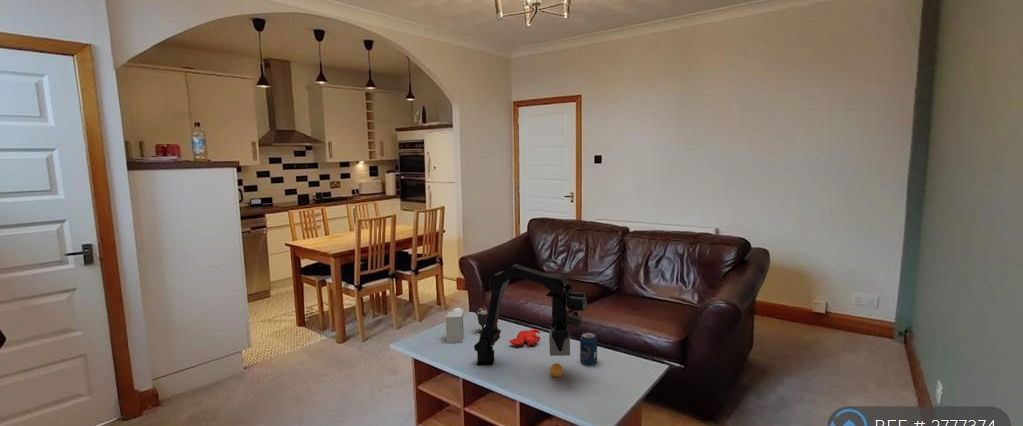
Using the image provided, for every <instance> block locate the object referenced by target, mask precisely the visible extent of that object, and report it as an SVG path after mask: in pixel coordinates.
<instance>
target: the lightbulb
mask: <svg viewBox="0 0 1023 426" xmlns="http://www.w3.org/2000/svg"><path fill="white" fill-rule="evenodd" d="M464 311H465V310H463V308H462V307H455V308H453V309H452V311H451V312H463V318H464V317H465V312H464Z"/></svg>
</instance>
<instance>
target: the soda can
mask: <svg viewBox="0 0 1023 426" xmlns="http://www.w3.org/2000/svg"><path fill="white" fill-rule="evenodd" d="M596 336H597V335H596V334H595V333H593V332H582V334H581V336H580V339H579V353H580V354H579V359H580V362H581V364H582V365H583V366H589V367H592V366H595V365H596V363H597V362H598V338H597V337H596Z"/></svg>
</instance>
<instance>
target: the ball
mask: <svg viewBox="0 0 1023 426" xmlns="http://www.w3.org/2000/svg"><path fill="white" fill-rule="evenodd" d="M549 372H550V374H551V375H552V377H556V378H558V377H561V376H562V375H563V373H564V369H563V366H562V365H561V364H560V363H557V362H556V363H553V364H552V365H551V366H550V369H549Z"/></svg>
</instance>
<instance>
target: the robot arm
mask: <svg viewBox="0 0 1023 426" xmlns="http://www.w3.org/2000/svg"><path fill="white" fill-rule="evenodd" d="M513 277H517V278H521V279H524V280H526V281H530V282H534V283H536V284H539V285H542V286H544V287H545V288H546V289H547V290H549V292H548V293H547V294H546V295H545V296H546V297H551V316H550V318H551V327H552V329H551V330H552V338H553V339H554V341H555V344H556V346H557V348H558V350H559V351H562V348H563V343H564V340H565V339H566V338H569V336H570V331H568V329H569V328H568V326H573V327H575V328H578V329H579V328H581V324H582V321H583V318H582V317H581V315H579V312H578V311H580V312H586V309H587V306H588V299H587V296H586V293H585V292H581V291H580V292H576V291H574V288H573V287H572V286H571V284H570V283H569V280H568V277H567V276H566V275H565V274H561V273H546V272H543V271H540V270H536V269H534V268H533V269H532V268H530V267H527V266H526V267H525V266H523V265H521V264H513V265H511V266H510V267H509V268H507V269H506V270H505V271H499V272H496V273H495V274H493V275H492V276H491V277H490V278H489V289H490V294H491V295H490V300H489V303H488V304H489V305H488V309H487V311H488V315H487V321H486V325H484V329H483V331H482V333H481V334H479V335H480V336H479V339H478V342H476V343H475V345H474V346H473V348H474V350H475V352H476V353H477V354H476V357H477V361H476V365H477V366H492V365H493V364H494V362H495V350H494V346H495V344H496V342H498V341H499V339H500V338H501V336H500V335H501V332H502V329H499V327H498V322H499V315H500V311H501V305H502V301H503V295H504V293H505V291H506V289H507V287H508V285H509V282H510V279H512V278H513ZM568 309H569V310H570V311H572V312H568Z"/></svg>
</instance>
